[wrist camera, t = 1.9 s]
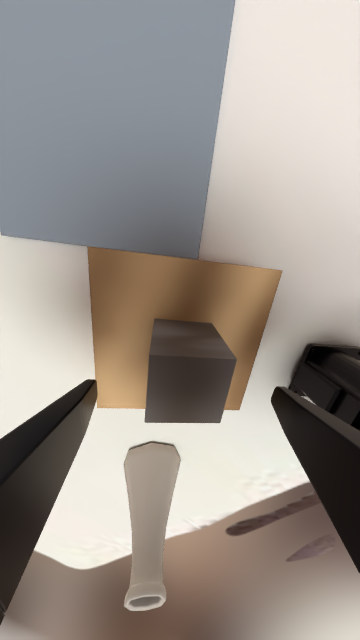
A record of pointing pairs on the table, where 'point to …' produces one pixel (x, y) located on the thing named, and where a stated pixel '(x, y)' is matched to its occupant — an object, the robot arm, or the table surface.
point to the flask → (149, 520)
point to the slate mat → (110, 120)
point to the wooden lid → (175, 332)
